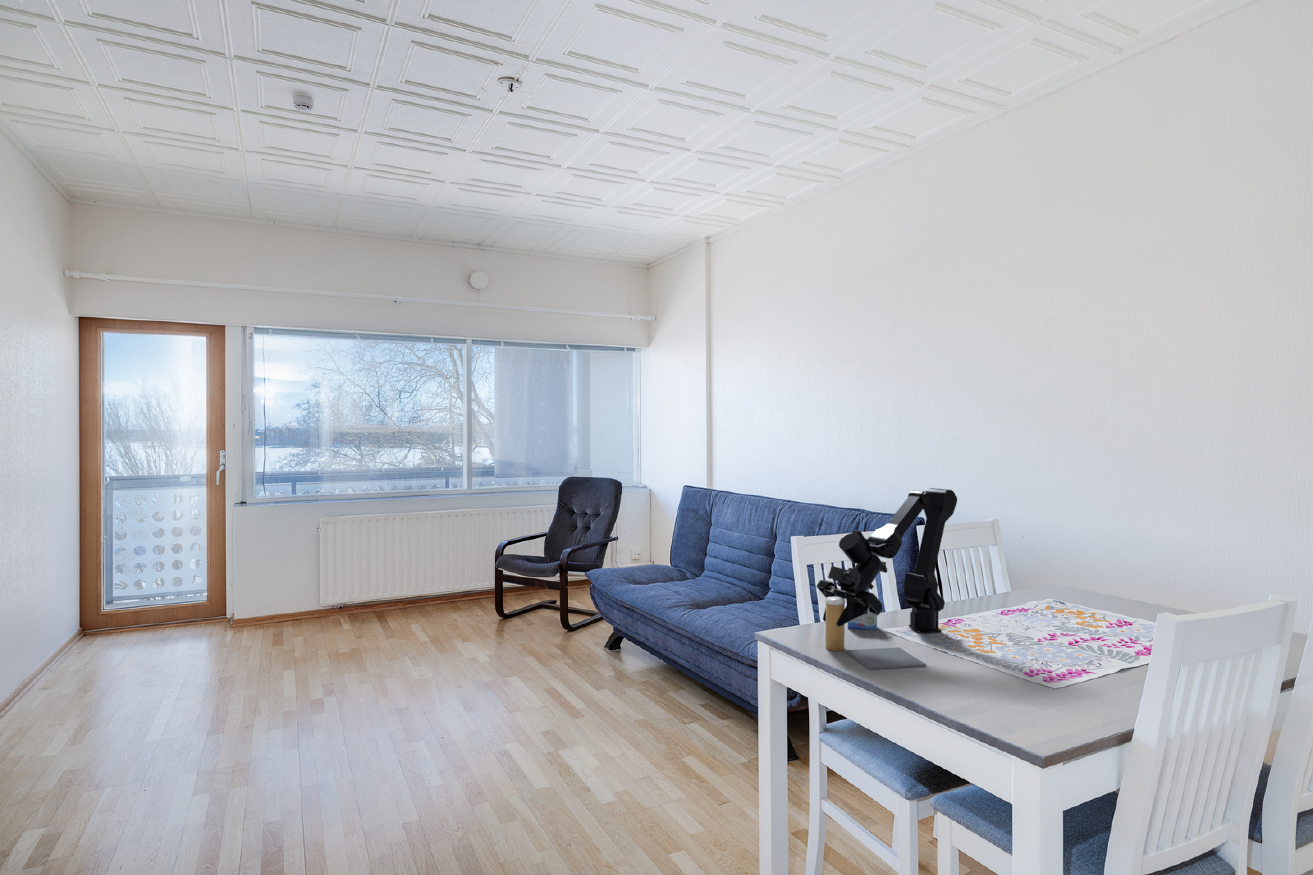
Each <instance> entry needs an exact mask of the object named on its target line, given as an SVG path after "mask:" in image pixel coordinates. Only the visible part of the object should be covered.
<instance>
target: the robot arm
mask: <svg viewBox="0 0 1313 875" xmlns="http://www.w3.org/2000/svg"><path fill="white" fill-rule="evenodd" d="M901 504H902V505H901V506H900V507H899V508H898V509H897V511H896V512H895V513H894V515H893V516H892V517H891V519H890V520H889V521H888V522H887V523H886V524H885V525H884V526H881V527H880V528H878V529H876V530H875V531H874V532H873V533H872V534H870V535H869V536H868V537H867V538H866V537H865V536H864V534H863V533H862V531H861V530H857V529H853V531H852V532H850V533H848V534H846V535H844V536H843V537H841V539H840V540H839V542H838V546H839V548H840V550H841V551H842V552H843V553H844V555H845V556H846V557H847V558H848V559H849V561H850V562H851V563H852V564H855V566H854V567H853V568H852V567H849V568H847V569H845V568H842V567H837V566H833V565H831V566H830V570H829V572H828V576H827V578H828V579H829V580H833V581H835V582H836V583H834V582H833V581H829V580H827V579H820V580H819V581H818V583H817V584H816V588H817V589H818V590H819V592H820V593H821V594H822V595H823V596H824V598H827V597H841V598H844V599H845V600H846V601H847V602H846V604H847V605H846V606H845V609H844V611H843V613H842V614H841V616H840V618H839V619H838V621H837V625H838V626H839V627H840V626H842V625H844V626H845V624H848V622H849V621H851V620H853V619H855V618H857V617H859V616H861V615H864V614H868V612H867V609H868V608H869V611H870V613H873V614H876V615H877V616H879V615H880V614H881V612H882V611H883V603H882V602H881V601H880V599H879V598H878V596H876V595H875V594H874V593H873V592H870V591H868V590H873V589H874V585H873V584H872V583H873V582H874V580H876V578H877V576H878V574H879V573H880V572H881V573H885V574H886V573H888V568H887V562H886V561H883V560H882V559H881V558H885V559H893V558H895V557H896V556H897V554H898V552H899V551H900V548H901V547H902V545H903V537H904V535H905V534H906V532H907V531H908V529H909V528H910V527H911V525H912V524H914V522H915V520H916V519H917V518H918V517H919V516H920V514H921V512H922V511H923V512H924V514H925V518H926V519H925V523H924V528H923V532H922V537H921V542H920V547H919V549H918V550H919V551H918V554H917V560H916V564H915V568H914V569H913V570H912V572H911V573H910V572H906V574H905V575H904V576H905V577H904V582H903V584H902V587H903V595H904V596H905V601H906V605H907V606H911V611H910V614H909V619H910V620H909V624H908V627H909V628H911V629H912V630H914V631H916V632H918V633H920V634H924V633H942V631H943V630H942V629H941V628H939V612H941V611H942V610H944V608H945V602H946V601H945V600H944V599H943V598H942V596H941V595H940V594H939V593H938V588H939V583H938V580H937V577H936V575H935V574H936V573H935V572H936V567H937V563H938V559H939V558H938V557H939V554H940V549H941V544H942V539H943V534H944V528H945V526H946V522H947V521H948V520H949V519H950V518H951V517H952V516H953V515H954V513H955V509H956V507H957V504H958V497H957V495H956V493H955V491H954V490H952V489H946V488H945V489H944V488H935V487H930V488H929V489H928V490H916V489H915V490H912V491H911V490H910V492H909V493H908V496H907V497H906V500H904V502H903V503H901ZM836 585H837V586H838V587H840V588H838V587H837V586H836ZM822 620H823V622H825V623H826V607H825V608H824V613H823V616H822Z"/></svg>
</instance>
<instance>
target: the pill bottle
mask: <svg viewBox="0 0 1313 875" xmlns="http://www.w3.org/2000/svg"><path fill="white" fill-rule="evenodd" d="M824 599H825V600H824V602H825V608H826V622H825V649H826V650H829V651H832V650H833V652H841V651H845V624H844V625H842V626H840V627H839V626H838V625H837V621H838V619H839V618H840V616H841V614H842V613H843V611H844V609H845V608H846V606H845V604H846V599H844V598H841V597H827V598H826V597H824Z"/></svg>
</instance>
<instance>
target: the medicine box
mask: <svg viewBox="0 0 1313 875" xmlns="http://www.w3.org/2000/svg"><path fill="white" fill-rule="evenodd" d="M867 612H868V614H864V615H861V616H859V617H857V618H855V619H853V620H851V621H849V622H847V629H848V630H849V629H850V630H851V629H852V630H864V631H865V630H867V631H877V629H878V615H876V614H873V613H870V611H869V608H868V609H867Z"/></svg>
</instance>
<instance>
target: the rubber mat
mask: <svg viewBox="0 0 1313 875" xmlns="http://www.w3.org/2000/svg"><path fill="white" fill-rule="evenodd" d="M845 650H846V649H845ZM845 652H846V654H848V655H849V656H851V657H852V658H853V659H855V660H856V661H857V662H858V663H860V664H862V665H863V666H864V667H865V668H866V669H868V670H870V671H872V670H873V671H874V670H888V669H887V668H892V669H903V668H904V669H906V668H909V669H910V668H923V667H927V663H924V661H922V660H920V659H919V658H917V657H916V656H914V655H912V654H910V652H908V651H906V650H904V649H902V648H901V647H898V646H897V647H883V648H882V647H881V648H861V649H847V650H846V651H845Z"/></svg>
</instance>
